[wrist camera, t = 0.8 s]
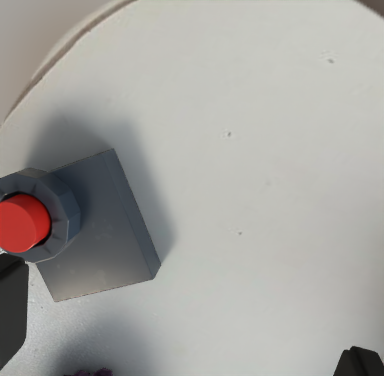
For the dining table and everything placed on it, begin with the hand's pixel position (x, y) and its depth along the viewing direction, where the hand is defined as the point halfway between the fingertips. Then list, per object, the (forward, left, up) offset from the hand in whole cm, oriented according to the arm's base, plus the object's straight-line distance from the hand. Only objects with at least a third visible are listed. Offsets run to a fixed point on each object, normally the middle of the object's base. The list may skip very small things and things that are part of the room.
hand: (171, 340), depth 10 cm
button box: (0, -11, -16) cm, 19 cm away
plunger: (-3, -13, -12) cm, 18 cm away
